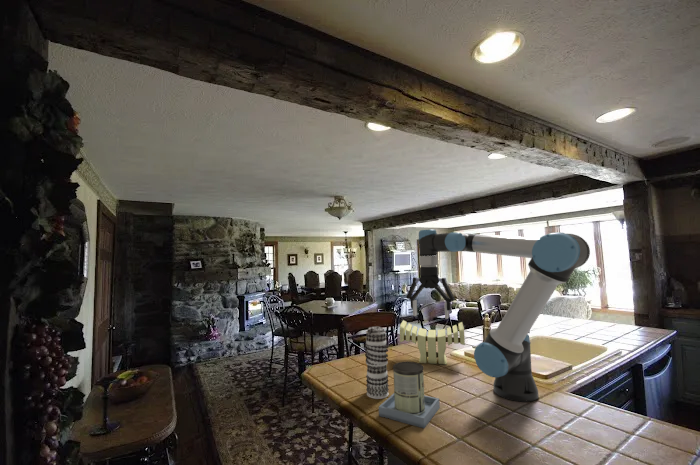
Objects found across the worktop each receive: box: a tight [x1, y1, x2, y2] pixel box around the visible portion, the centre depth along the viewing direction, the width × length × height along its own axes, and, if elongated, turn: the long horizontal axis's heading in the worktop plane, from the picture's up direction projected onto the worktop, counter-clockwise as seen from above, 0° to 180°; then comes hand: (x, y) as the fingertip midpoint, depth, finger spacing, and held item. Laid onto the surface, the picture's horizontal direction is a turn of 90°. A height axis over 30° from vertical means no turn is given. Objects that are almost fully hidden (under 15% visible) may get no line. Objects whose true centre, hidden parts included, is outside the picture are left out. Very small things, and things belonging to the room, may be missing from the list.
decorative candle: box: [364, 326, 390, 400], centre depth 126 cm, size 9×9×25 cm
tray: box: [378, 393, 441, 429], centre depth 110 cm, size 16×16×3 cm
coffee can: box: [392, 361, 425, 415], centre depth 111 cm, size 10×10×14 cm
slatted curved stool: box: [399, 319, 466, 365], centre depth 163 cm, size 30×16×18 cm, turn 74°
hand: (430, 317), depth 136 cm, fingers open, 13 cm apart
